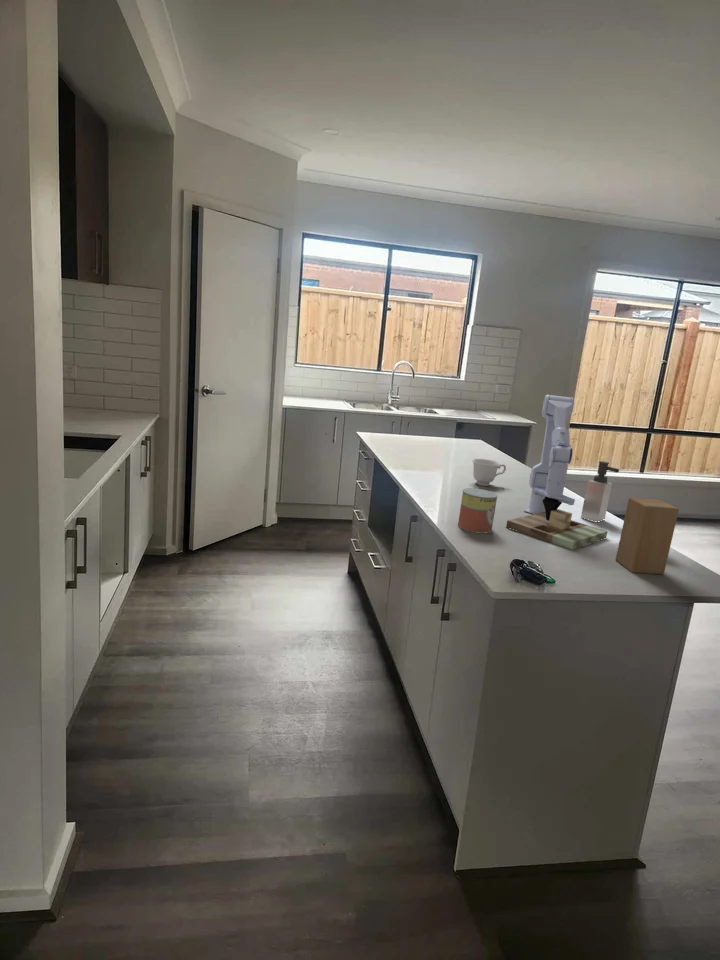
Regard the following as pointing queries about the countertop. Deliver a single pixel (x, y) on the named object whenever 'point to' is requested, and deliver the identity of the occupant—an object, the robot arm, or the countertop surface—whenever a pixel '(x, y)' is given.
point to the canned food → (477, 510)
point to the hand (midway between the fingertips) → (548, 520)
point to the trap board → (557, 531)
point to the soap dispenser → (597, 494)
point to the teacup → (486, 471)
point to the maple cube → (560, 519)
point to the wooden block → (646, 535)
